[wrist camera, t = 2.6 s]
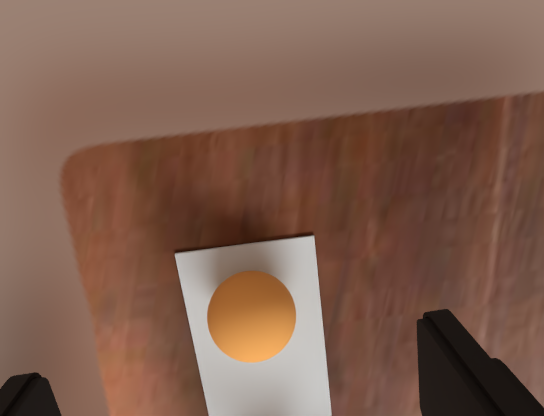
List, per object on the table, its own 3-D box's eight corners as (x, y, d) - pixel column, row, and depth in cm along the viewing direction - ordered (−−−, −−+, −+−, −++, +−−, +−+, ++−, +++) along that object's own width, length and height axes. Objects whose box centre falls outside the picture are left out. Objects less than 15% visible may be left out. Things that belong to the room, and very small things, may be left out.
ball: (205, 262, 30) (193, 306, 24) (287, 251, 30) (295, 292, 24) (218, 332, 32) (210, 388, 26) (296, 322, 32) (305, 376, 26)
